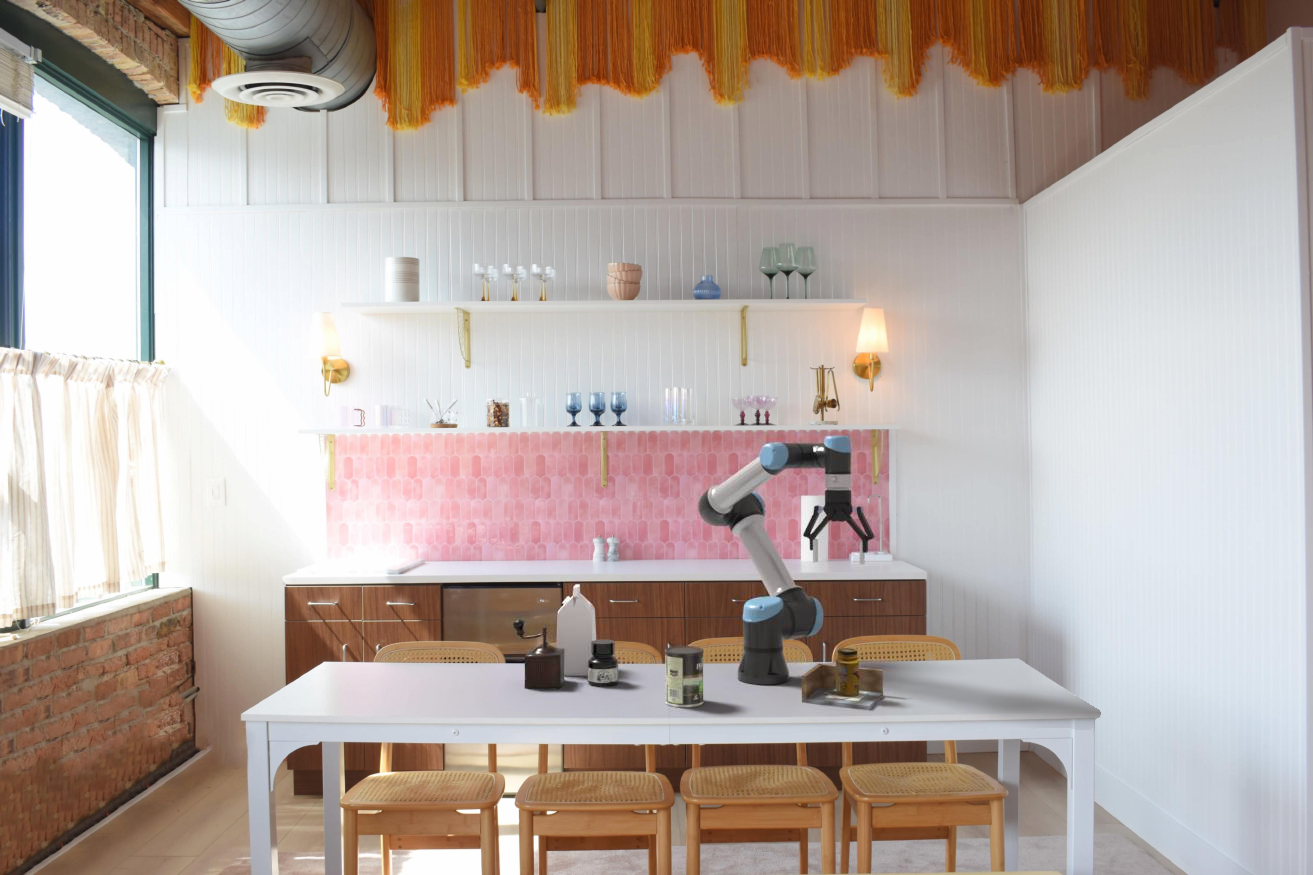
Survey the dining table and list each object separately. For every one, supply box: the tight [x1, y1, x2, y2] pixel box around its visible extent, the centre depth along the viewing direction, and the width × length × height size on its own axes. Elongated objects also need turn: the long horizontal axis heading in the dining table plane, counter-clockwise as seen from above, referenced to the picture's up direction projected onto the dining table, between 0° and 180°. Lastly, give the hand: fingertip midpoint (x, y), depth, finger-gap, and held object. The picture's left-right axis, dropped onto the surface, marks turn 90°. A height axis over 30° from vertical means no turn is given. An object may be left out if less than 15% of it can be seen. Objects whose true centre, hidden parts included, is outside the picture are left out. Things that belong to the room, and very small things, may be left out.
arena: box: [801, 663, 884, 711], centre depth 248 cm, size 18×16×7 cm
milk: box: [555, 584, 597, 677], centre depth 282 cm, size 12×12×26 cm
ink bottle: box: [587, 639, 619, 687], centre depth 266 cm, size 10×9×12 cm
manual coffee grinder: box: [512, 618, 566, 690], centre depth 266 cm, size 16×11×18 cm
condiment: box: [824, 647, 865, 699], centre depth 248 cm, size 7×8×12 cm
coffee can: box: [664, 645, 705, 709], centre depth 245 cm, size 10×10×14 cm
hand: (838, 563), depth 264 cm, fingers open, 13 cm apart
